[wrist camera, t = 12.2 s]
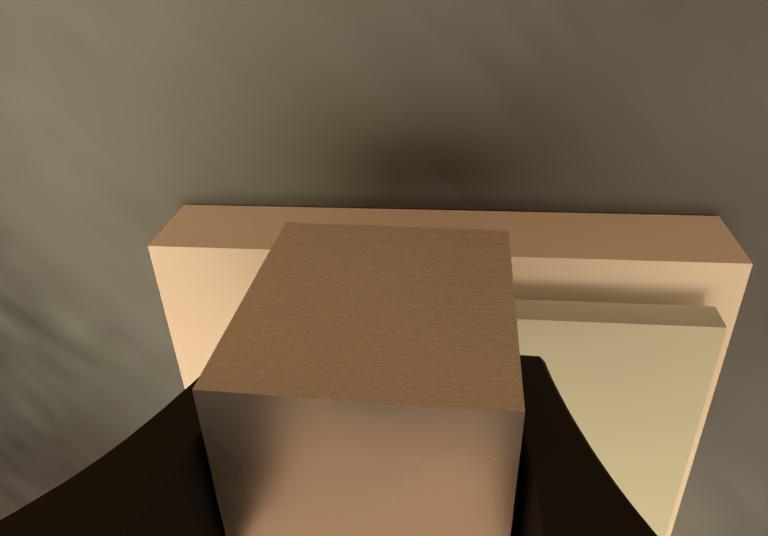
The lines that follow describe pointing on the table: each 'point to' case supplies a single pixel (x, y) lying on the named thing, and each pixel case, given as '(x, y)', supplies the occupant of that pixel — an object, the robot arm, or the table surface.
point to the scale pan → (630, 385)
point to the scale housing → (526, 229)
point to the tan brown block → (369, 386)
